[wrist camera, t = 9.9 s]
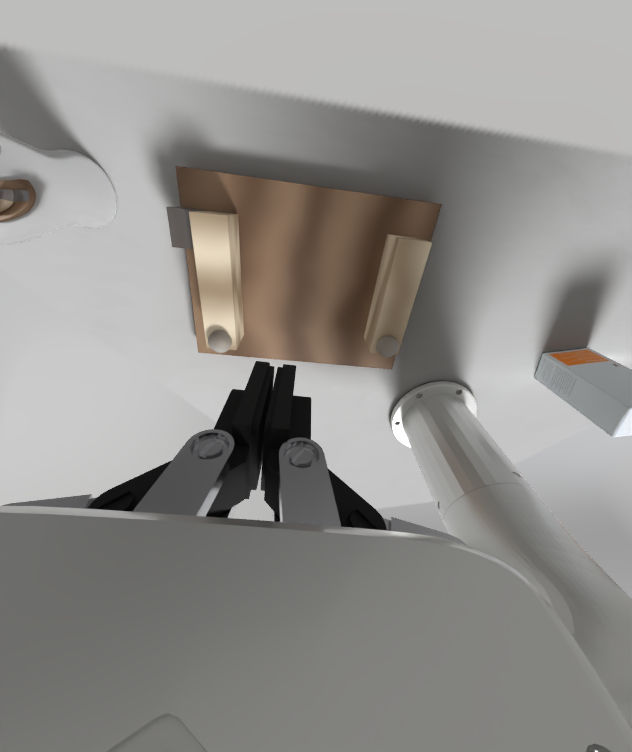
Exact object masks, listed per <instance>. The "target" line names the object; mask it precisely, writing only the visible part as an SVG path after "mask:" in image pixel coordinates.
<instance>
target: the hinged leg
mask: <svg viewBox="0 0 632 752" xmlns="http://www.w3.org/2000/svg"><path fill="white" fill-rule="evenodd" d="M189 217H190V225H191V232H192V240H193V248H194V255H195V263H196V270H197V278H198V286H199V293H200V301H201V308H202V316H203V323H204V331H205V339H206V346H207V348H211V349H212V350H214V351H216V352H219V353H223V352H226V351H228V350H237V348H238V346H239V344H240V342H241V340H242V338H243V336H244V323H243V304H242V284H241V264H240V245H239V225H238V214H232V213H222V212H213V211H189Z"/></svg>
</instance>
